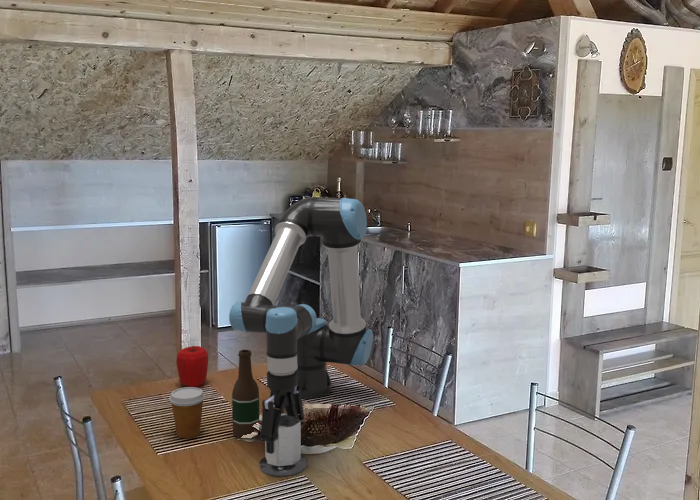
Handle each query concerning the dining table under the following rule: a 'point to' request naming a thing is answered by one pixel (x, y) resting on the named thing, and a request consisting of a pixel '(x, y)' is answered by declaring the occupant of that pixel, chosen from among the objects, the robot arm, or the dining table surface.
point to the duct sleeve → (288, 440)
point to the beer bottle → (245, 398)
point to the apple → (192, 366)
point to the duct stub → (283, 468)
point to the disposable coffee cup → (187, 411)
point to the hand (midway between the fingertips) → (283, 456)
